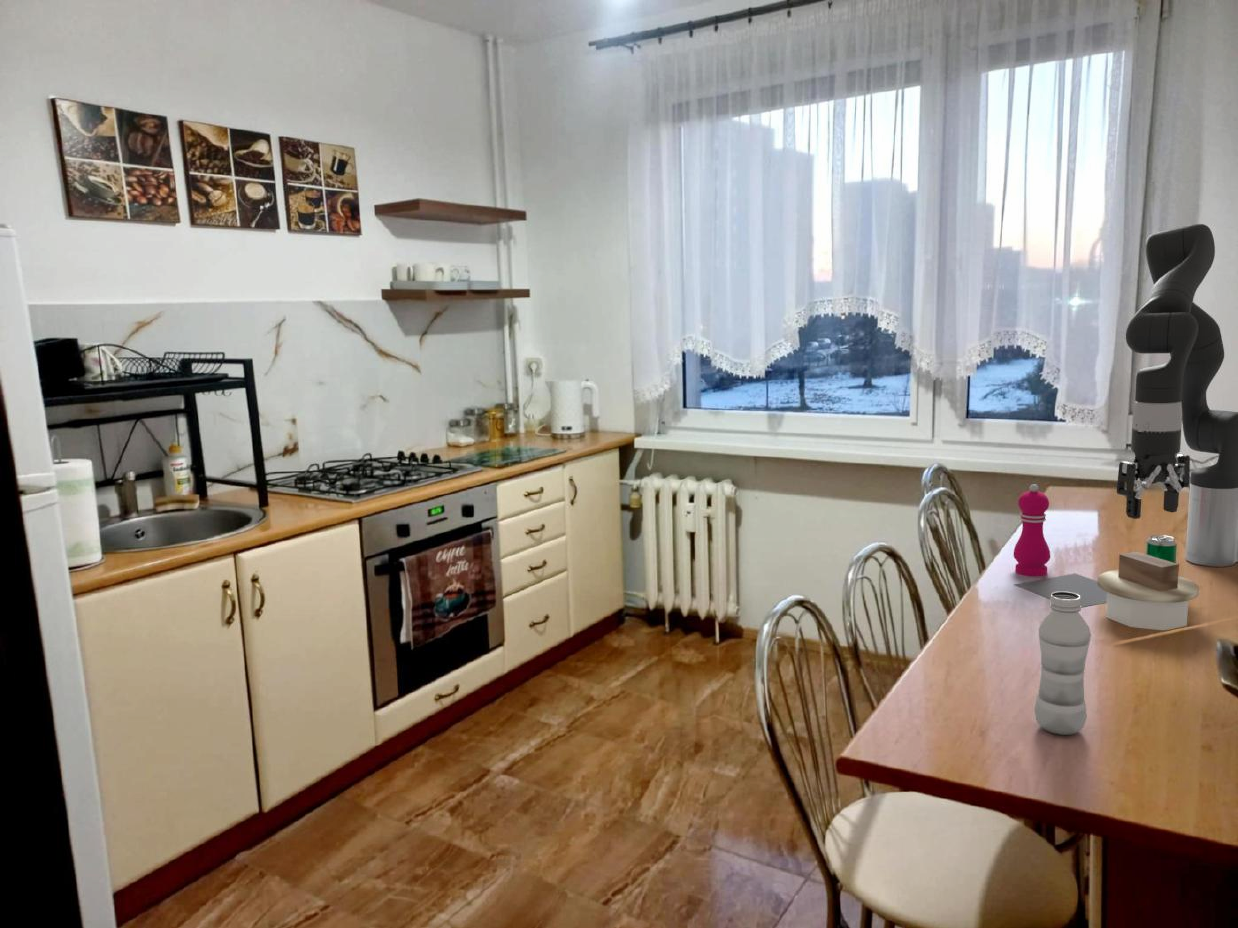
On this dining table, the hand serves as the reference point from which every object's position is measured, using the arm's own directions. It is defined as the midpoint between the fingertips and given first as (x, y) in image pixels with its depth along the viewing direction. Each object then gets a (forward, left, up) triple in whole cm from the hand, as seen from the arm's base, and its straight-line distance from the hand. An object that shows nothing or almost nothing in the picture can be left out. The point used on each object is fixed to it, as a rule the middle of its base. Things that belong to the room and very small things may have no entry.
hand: (1151, 514), depth 159 cm
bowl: (0, 0, -20) cm, 20 cm away
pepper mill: (-1, -30, -20) cm, 36 cm away
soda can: (-12, -8, -20) cm, 25 cm away
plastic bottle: (+45, +26, -20) cm, 56 cm away
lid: (0, 0, -14) cm, 14 cm away
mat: (0, -17, -20) cm, 26 cm away
